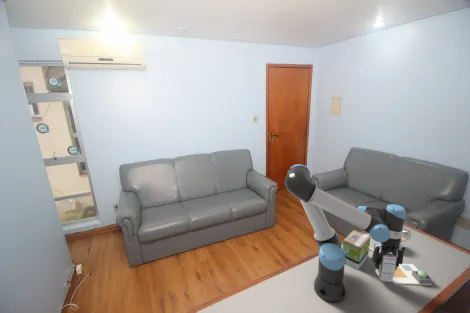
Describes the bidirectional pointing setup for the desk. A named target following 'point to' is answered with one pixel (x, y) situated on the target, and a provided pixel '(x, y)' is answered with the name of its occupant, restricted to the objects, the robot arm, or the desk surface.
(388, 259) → the syrup box
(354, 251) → the tea box
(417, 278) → the white button panel
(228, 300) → the desk surface
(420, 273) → the button
